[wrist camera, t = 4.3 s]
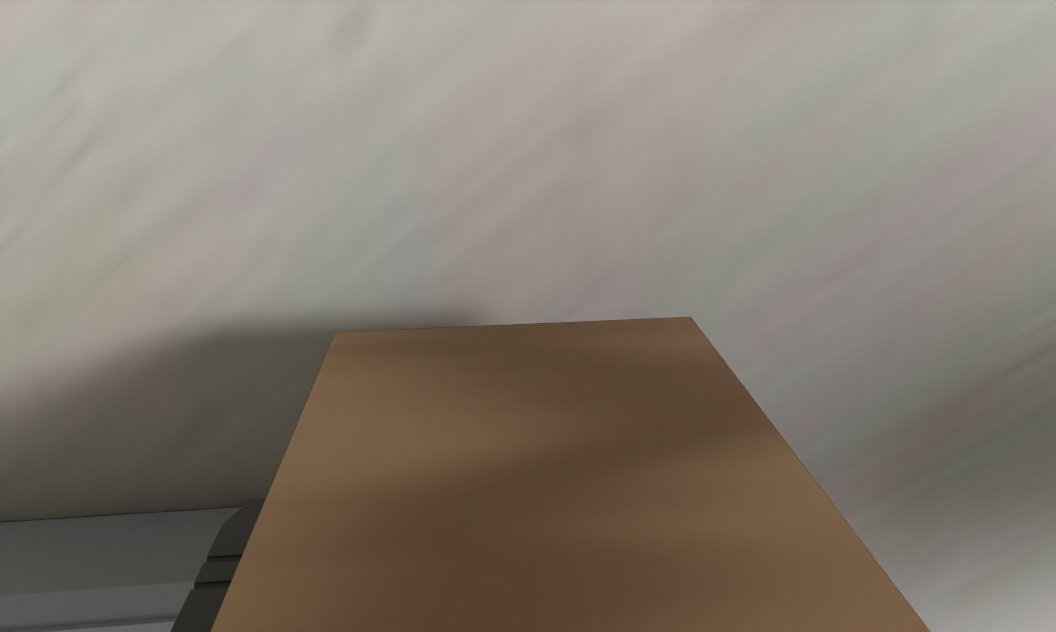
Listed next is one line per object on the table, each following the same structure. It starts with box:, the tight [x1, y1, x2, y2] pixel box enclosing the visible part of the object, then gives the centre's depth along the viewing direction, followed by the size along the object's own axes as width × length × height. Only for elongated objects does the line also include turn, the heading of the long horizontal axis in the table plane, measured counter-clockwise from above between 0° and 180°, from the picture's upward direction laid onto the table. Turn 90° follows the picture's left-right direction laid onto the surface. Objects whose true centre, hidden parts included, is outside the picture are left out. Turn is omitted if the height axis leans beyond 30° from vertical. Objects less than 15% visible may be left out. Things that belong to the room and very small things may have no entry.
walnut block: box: [211, 317, 930, 632], centre depth 8 cm, size 5×5×6 cm
